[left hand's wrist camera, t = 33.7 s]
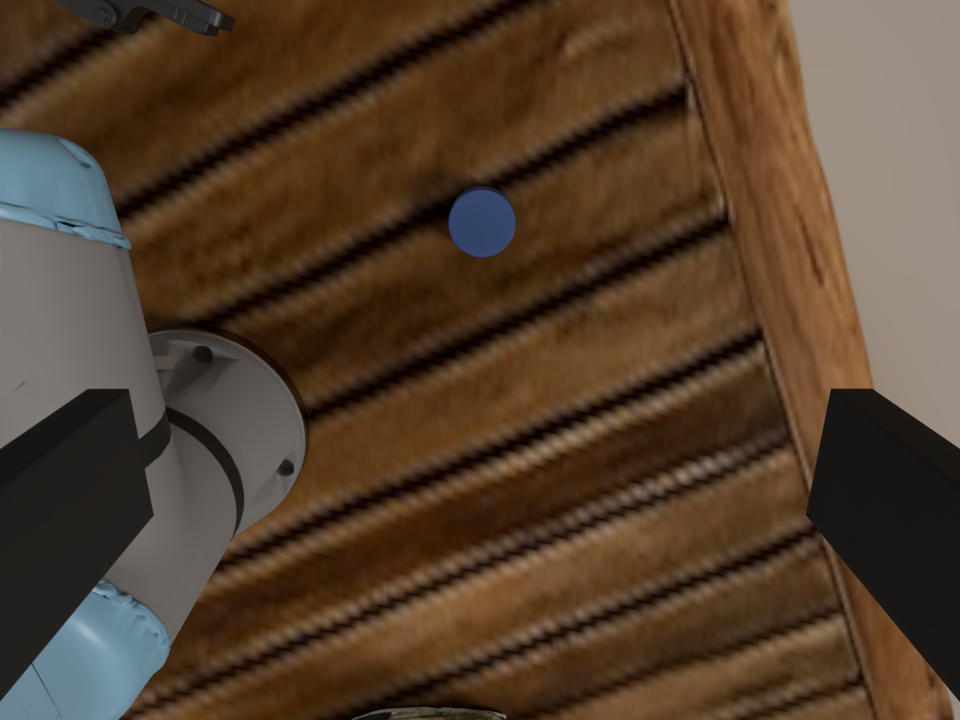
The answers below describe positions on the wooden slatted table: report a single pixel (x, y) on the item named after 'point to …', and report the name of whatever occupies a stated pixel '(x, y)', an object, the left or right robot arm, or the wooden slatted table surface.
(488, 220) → the cap
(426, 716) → the fossil
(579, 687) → the wooden slatted table surface
